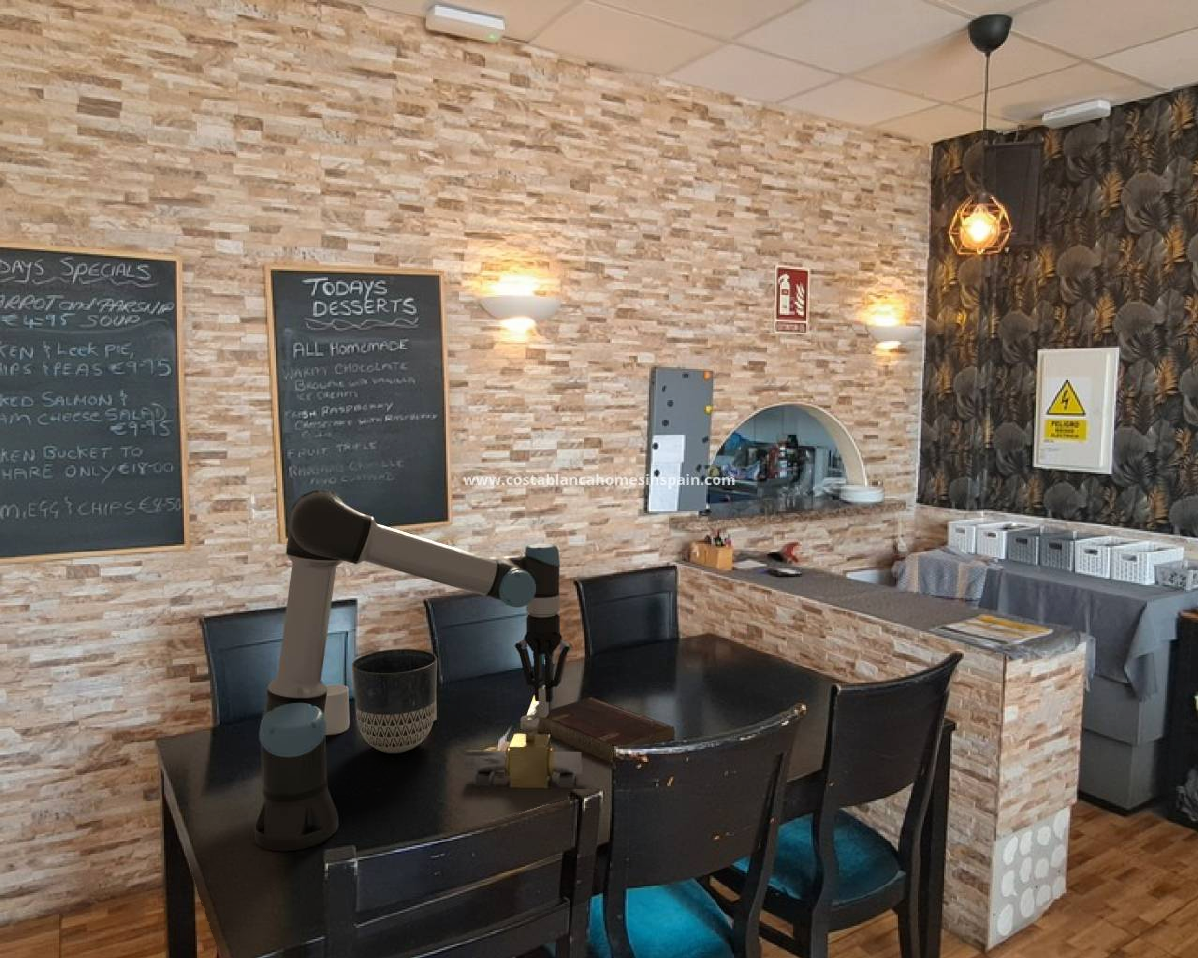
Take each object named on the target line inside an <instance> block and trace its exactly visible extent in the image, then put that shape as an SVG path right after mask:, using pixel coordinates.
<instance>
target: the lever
mask: <svg viewBox="0 0 1198 958" xmlns="http://www.w3.org/2000/svg"><path fill="white" fill-rule="evenodd" d="M531 700H532V701H531V703H530V705H529V708H528V711H527V713H526V715H523V716H521V717H520V729H521V730H522V731H534V730H535V731H538V729H539V717H538V715H539V701H535V694H534V695H533V697H532V699H531Z"/></svg>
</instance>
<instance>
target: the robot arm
mask: <svg viewBox="0 0 1198 958" xmlns="http://www.w3.org/2000/svg"><path fill="white" fill-rule="evenodd" d="M289 511H290V512H289V515H288V516H289V517H288V519H289V528H288V535H287V544H286V550H285V551H286V552H285V555H286V556H287V558H288V559H289V560H290V561H291V563H292V565H291V572H290V573H291V574H290V579H289V580H290V581H289V585H288V586H289V587H288V595H287V601H286V602H287V603H286V609H285V617H284V624H283V632H282V640H281V647H280V652H279V653H280V654H279V659H278V660H279V661H278V669H277V675H276V676H277V677H276V678H275V679H274V680H273V681H271V682H270V683H269V684H268V686H267V689H266V691H267V693H266V696H265V697H266V698H265V705H264V706H265V707H264V710H263V712H262V715H261V717H262V719H261V722H260V728H259V730H258V731H259V732H258V733H259V734H258V736H259V742H260V753H261V775H262V776H261V777H262V778H261V780H262V800H261V803H260V807H259V811H258V814H257V817H256V820H255V824H254V840H255V841H254V842H255V843H256V844H257V846H259V847H260V848H262V849H265V850H268V851H272V852H274V851H275V852H292V851H294V852H295V851H299V850H305V849H309V848H311V847H314V846H316V845H319V844H321V843H323V842H325V841H327V840H328V839H330V838H331V837H333V835H334V834H335V833H336V832H337V831H338V828H339V814H338V811H337V808H336V806H335V804H334V801H333V798H332V795H331V794H330V791H329V789H328V771H327V770H328V769H327V767H328V766H327V741H326V740H327V739H326V736H327V735H325V733H326V722H325V718H324V710H325V703H326V695H327V687H326V686H327V685H326V684H325V683H324V682H323V681H322V676H323V675H322V674H323V668H324V667H323V666H324V659H325V652H326V644H327V638H328V630H329V623H330V617H331V609H332V602H333V595H334V588H335V587H334V586H335V579H336V572H337V568H338V566H339V565H341V564H342V563H344V562H347V563H349V564H354V565H359V564H361V563H363V562H367V563H370V564H373V565H376V566H380V567H384V568H388V569H391V570H394V571H398V572H401V573H405V574H408V575H411V576H415V577H419V578H422V579H425V580H428V581H432V582H436V583H439V584H443V585H446V586H450V587H454V588H457V589H461V590H463V591H468V592H471V593H473V594H478V595H481V596H484V597H487V598H490V599H493V600H497V601H500V602H502V603H504V604H505V605H506V606H510V607H512V608H517V609H518V608H522V607H523V608H524V607H525V612H526V613H527V614H526V615H525V620H526V621H525V622H526V629H525V630H526V633H525V635H524V638H523V639H521V640H518V641H517V642H516V643H515V644H514V647H515V648H516V650H517V652H518V654H519V658H520V662H521V666H522V670H523V674H524V679H525V682H526V685H528V686H532V687H533V688H534V695H535V701H539V717H544V718H545V717H546V716H547V715H548V714H549V710H550V709H549V707H550V705H549V703H551V702H552V701H553V700H554V699H553V697H554V696H553V692H554V691H553V690H554V689H553V688H556V687H558V686H559V685H560V684H561V682H562V678H563V674H564V670H565V665H566V661H567V658H568V657H567V656H568V653H569V651H570V650H572V649H571V648H572V643H567V642H565V641H564V640H563V636H562V634H561V631H560V630H561V623H560V622H561V619H560V618H561V616H560V614H559V612H561V611H560V609H561V608H560V602H561V601H560V599H561V598H560V595H561V594H560V567H561V565H560V552H559V548H558V546H556V545H555V544H552V543H546V542H545V543H540V542H539V543H534V544H533V543H531V544H528V545H527V546H525V550H524V554H518V555H504V556H503V555H501V556H485V557H484V556H482V555H479V554H476V553H472V552H469V551H466V550H463V549H460V548H456V547H453V546H450V545H446V544H443V543H440V542H436V541H433V540H431V539H427V538H425V537H424V538H423V537H421V536H418V535H415V534H411V533H409V532H405V531H402V530H398V529H395V528H392V527H388V526H385V525H382V524H378V523H377V522H376V520H375V518H374V517H373V516H371V515H368V514H364V513H362V512H359V511H357V510H356V509H354V508H351V507H350V506H349V505H348V503H347V502H346V501H345V499H344V498H343V497H342V496H340V494H337V493H335V492H333V491H330V490H326V489H316V490H311V491H310V490H309V491H308V492H305V493H303V494H302V495H300V496H299V497H298V498H297V499H295V501H294V503H293V504H292V506H291V508H290V510H289ZM528 647H529V649H530V651H532V658H533V667H532V663H531V658H530V655H529V654H530V653H529V650H528ZM558 647H559V651H560V653H559V655H558V659H557V664H556V669H555V671H554V653H555V651H556V650H557V648H558ZM543 659H544V681H543ZM543 683H544V684H543Z"/></svg>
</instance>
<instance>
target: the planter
mask: <svg viewBox="0 0 1198 958" xmlns="http://www.w3.org/2000/svg"><path fill="white" fill-rule="evenodd" d="M351 671H352V683H353V692H354V704H355V713H356V716H355V717H356V720H357V721H356V722H357V725H358V728H359V732H360V734H361V736H362V737H363V738H364V740H365V741H366V742H367V743H368V744H369V745H370V746H371V747H372V748H374V749H376V750H378V751H380V752H383V753H386V754H401V753H405V752H408V751H410V750H412V749H414V748H416V747H417V746H419V745H420V744H421V743H422V742H423V741H424V740H425V739H426V738H427V736H428V735H429V734H430V732H431V729H432V728H433V724H434V722H435V721H434V716H435V705H436V703H437V674H438V672H437V671H438V658H437V656H436V654H434V653H433V652H430V651H427V650H423V649H416V648H415V649H414V648H396V649H394V648H392V649H384V650H378V651H373V652H369V653H367V654H364V655H362V656H359V657H357V658H356V659H354V661H352V663H351Z"/></svg>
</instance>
